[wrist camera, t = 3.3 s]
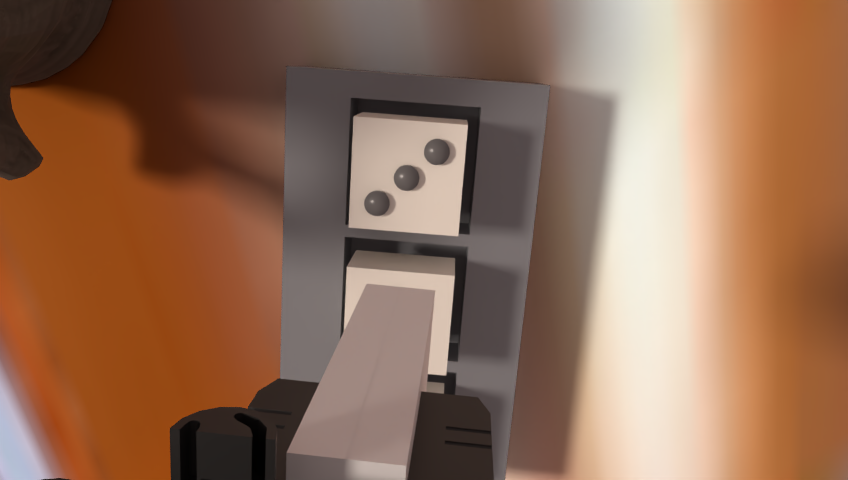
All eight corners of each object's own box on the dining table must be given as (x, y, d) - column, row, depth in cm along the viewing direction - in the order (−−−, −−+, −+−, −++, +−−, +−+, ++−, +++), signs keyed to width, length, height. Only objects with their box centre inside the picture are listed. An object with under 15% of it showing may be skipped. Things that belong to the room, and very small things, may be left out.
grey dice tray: (293, 445, 33) (278, 481, 30) (303, 66, 29) (286, 65, 26) (498, 463, 33) (502, 502, 30) (540, 83, 28) (550, 85, 25)
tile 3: (357, 213, 27) (347, 228, 24) (362, 111, 26) (352, 116, 23) (458, 221, 27) (458, 237, 24) (466, 120, 26) (468, 125, 23)
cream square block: (351, 341, 28) (341, 368, 26) (356, 249, 27) (345, 268, 25) (447, 350, 28) (446, 377, 26) (455, 258, 27) (454, 277, 25)
